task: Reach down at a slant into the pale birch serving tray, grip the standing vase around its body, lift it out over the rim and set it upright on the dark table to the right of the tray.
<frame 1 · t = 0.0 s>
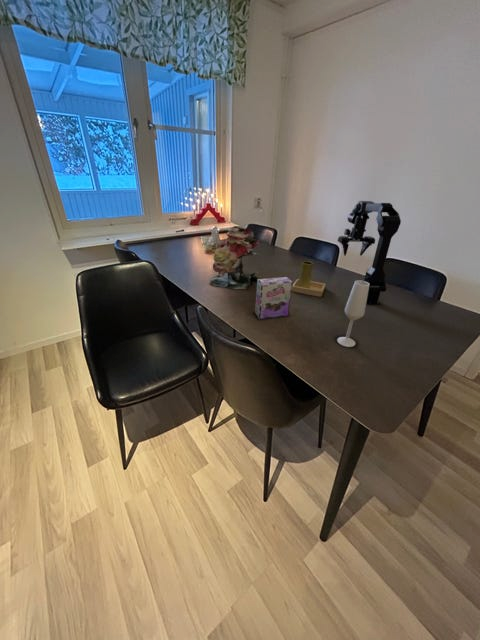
hand: (352, 255, 152), 15 cm above the table, tool pointing down, fingers open, 9 cm apart
tray: (308, 289, 146), on the table
champagne flute: (346, 342, 104), on the table
rose bouquet: (232, 281, 153), on the table
candy box: (271, 315, 121), on the table
chinaware: (211, 247, 213), on the table
vase: (303, 288, 146), resting on tray
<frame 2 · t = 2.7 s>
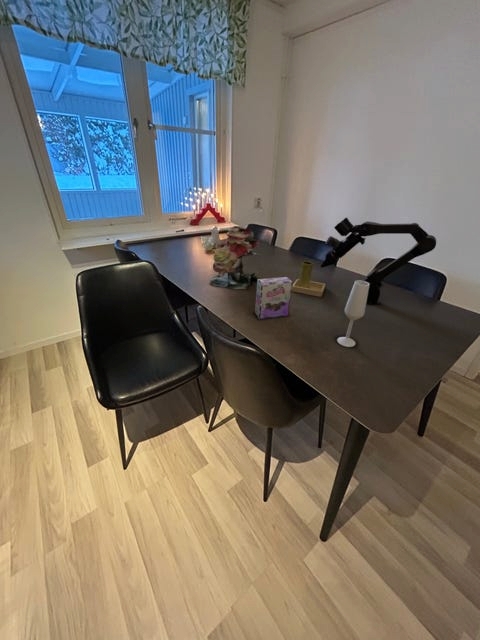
hand: (323, 264, 140), 14 cm above the table, tool tilted 40°, fingers open, 9 cm apart
nothing on the table moved.
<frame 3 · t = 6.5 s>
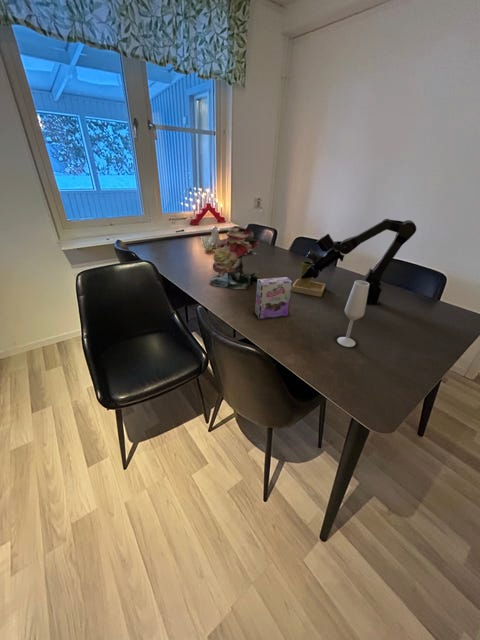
hand: (302, 276, 143), 7 cm above the table, tool tilted 45°, fingers closed on vase, 5 cm apart
vase: (303, 288, 146), resting on tray, touching gripper
everything else where it was.
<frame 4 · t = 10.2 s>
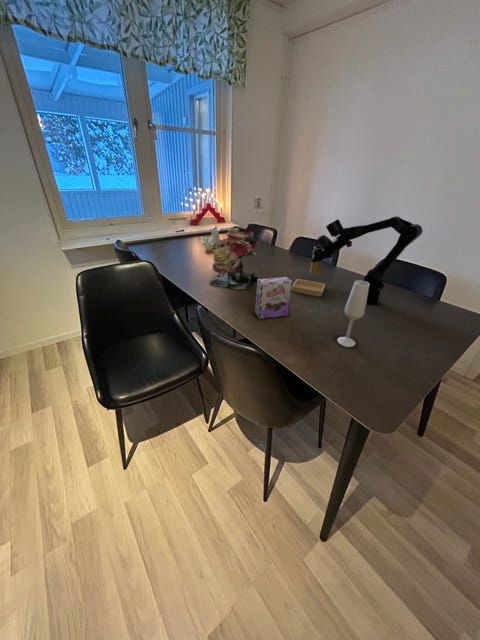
hand: (314, 260, 150), 12 cm above the table, tool tilted 45°, fingers closed on vase, 5 cm apart
vase: (314, 273, 153), point 5 cm above the table, touching gripper
everything else where it was.
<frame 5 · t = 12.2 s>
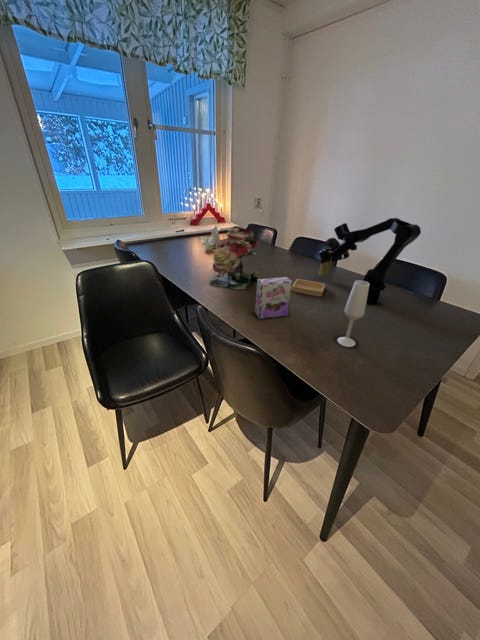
hand: (324, 262, 156), 10 cm above the table, tool tilted 45°, fingers closed on vase, 5 cm apart
vase: (324, 274, 158), point 3 cm above the table, touching gripper
everything else where it was.
when the fingers open (7 cm above the table, at t = 13.7 s): vase stays where it is, on the table.
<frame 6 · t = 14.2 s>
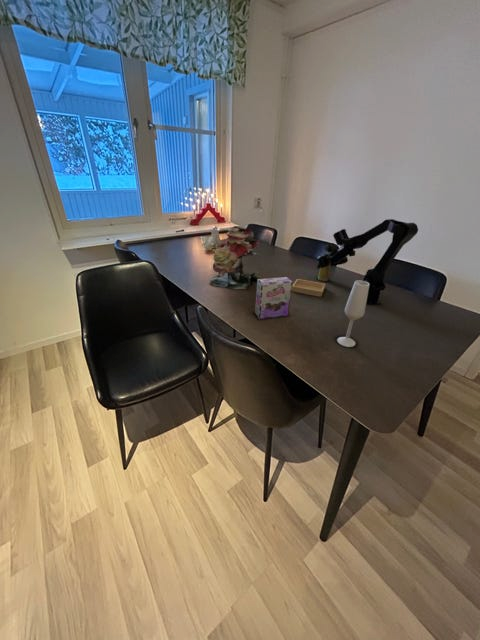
hand: (323, 266, 157), 7 cm above the table, tool tilted 45°, fingers open, 9 cm apart
vase: (322, 279, 160), on the table
everything else where it was.
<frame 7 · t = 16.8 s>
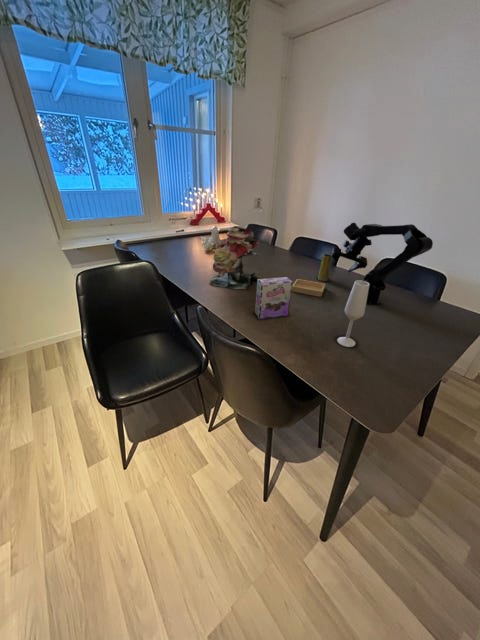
hand: (340, 269, 148), 9 cm above the table, tool tilted 25°, fingers open, 9 cm apart
nothing on the table moved.
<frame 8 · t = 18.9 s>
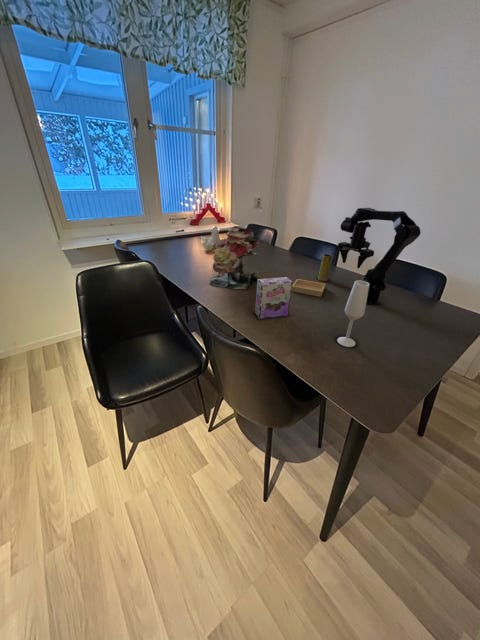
hand: (351, 265, 142), 13 cm above the table, tool pointing down, fingers open, 9 cm apart
nothing on the table moved.
at the end: vase inside the target area (0.2 cm from its centre), on the table; vase tilted 0°; vase touching table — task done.
